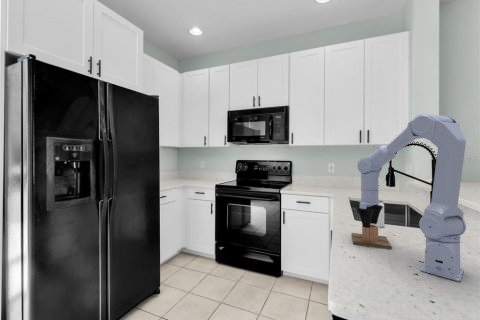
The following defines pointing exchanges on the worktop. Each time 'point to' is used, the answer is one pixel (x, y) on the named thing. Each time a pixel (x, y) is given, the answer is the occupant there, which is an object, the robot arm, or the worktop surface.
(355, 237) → the holder
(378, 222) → the can
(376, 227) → the tube
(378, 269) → the worktop surface
